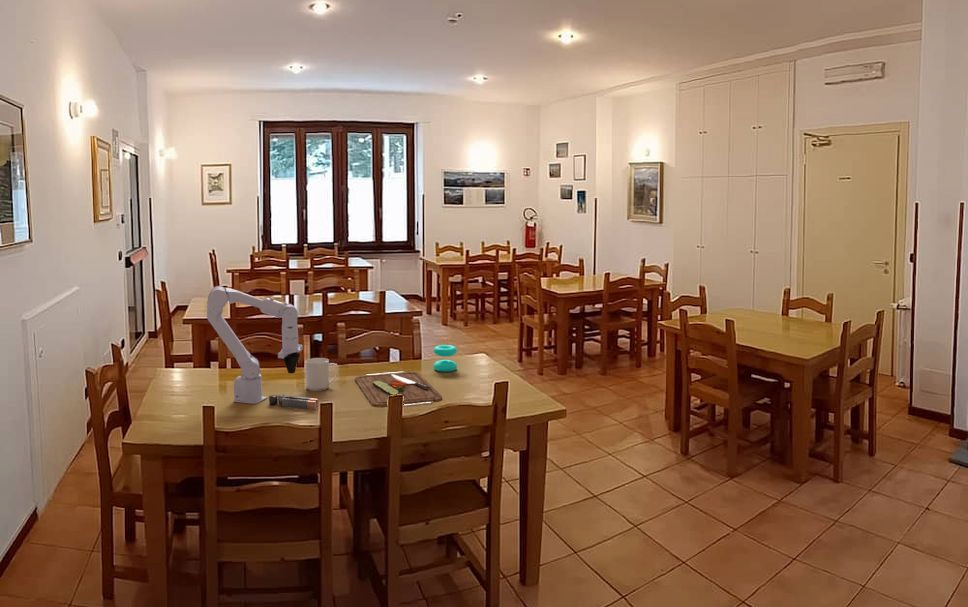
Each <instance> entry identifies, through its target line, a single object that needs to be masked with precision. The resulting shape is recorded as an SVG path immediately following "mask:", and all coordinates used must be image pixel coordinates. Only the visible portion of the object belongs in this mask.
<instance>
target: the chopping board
mask: <svg viewBox="0 0 968 607" xmlns="http://www.w3.org/2000/svg"><path fill="white" fill-rule="evenodd" d="M354 381H355V383H356V384H357V386H358V387H359V389H360V390H361V392H362V393H363V395H364V396H365V397H367V398H366V399H367V400H369V401H368V402H369V404H370V405H371V406H372V405H373V407H376V406H378V408H379V406H381V407H382V406H383V407H388V406H387V399H388V396H390V395H397V394H402V395H403V396H404V401H403V403H404V405H403V407H411V406H413V407H414V406H422V405H431V404H433V402H439V401H442V400H443V395H441V394H440V392H438V391H437V390H436V388H434V386H432V385H431V384H430V383H429V382H428V381H427V380H426V379H425V378H424V377H423V376H422V374H420V373H419V372H417V371H397V372H394V371H393V372H381V373H370V374H365V375H358V376H356V377H354Z"/></svg>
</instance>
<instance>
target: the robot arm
mask: <svg viewBox="0 0 968 607" xmlns="http://www.w3.org/2000/svg"><path fill="white" fill-rule="evenodd" d="M227 303H228V304H229V305H230V304H231V305H232V304H234V303H240V304H245V305H248V306H251V307H255V308H259V310H260V312H261V313H262V314H266V315H268V316H272V317H275V318H282V319H281V320H282V321H281V322H282V324H281V338H282V339H281V341H282V348H281V350H280V351H279V352H277V358H278V359H282V360H283V362H284V364H285V367H286V371H287V374H294V373H296V368H297V365H298V361H299V358H300V357H301V352H302V351H303V350H304V346H303V344H299V327H298V317H299V312H298V310H297V308H296V306H294V305H293V304H291V303H288V302H285V301H283V302H281V301H279V300H276V299H275V298H274V297H272V296H270V297H265V298H263V299H261V298H259V297H256V296H253V295H252V294H251V295H250V294H248V293H246V292H242V291H240V290H237V289H234V288H230V287H226V288H225V287H224V286H222V285H217V286H214V287H213V288H211V289H210V291H209V294H208V297H207V301H206V319H207V320H208V322H209V323H210V325H211V327H212V328H213V329H214V330H215V332H216V333H217V334H218V336H219V337H220V339H221V340H222V342H223V343H224V344H225V345H226V347H227V348H228V350H229V351H230V352H231V354H232V355H233V356H234V358H235V360H236V362H237V364H238V365H239V367H240V369H241V375H238V376H237V377H236V378H234V381H233V393H234V394H233V395H234V396H233V397H234V398H233V401H232V402H233V403H242V404H250V405H252V404H253V405H257V404H259V403H260V402H263V401H264V400H267V399H268V396H263V388H262V387H263V386H262V385H263V383H262V374H261V373H260V372H261V367H260V361H259V360H258V358H257V357H255V356H253V355H252V354H251V353H250V351H248V350H247V349H246V347H245V346H244V344H243V343H242V342H241V340H240V339H239V338H238V336H237V335H236V334H235V332H234V330H233V329H232V328H231V326H230V325H229V323H228V322H227V320H226V319H225V318H224V316H223V315H222V314H223V311H224V308H225V307H226V305H227Z"/></svg>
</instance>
